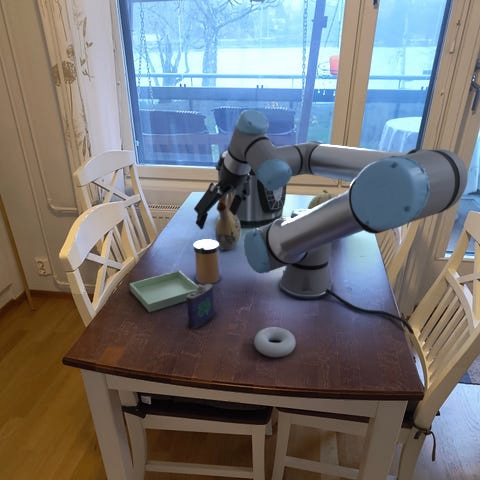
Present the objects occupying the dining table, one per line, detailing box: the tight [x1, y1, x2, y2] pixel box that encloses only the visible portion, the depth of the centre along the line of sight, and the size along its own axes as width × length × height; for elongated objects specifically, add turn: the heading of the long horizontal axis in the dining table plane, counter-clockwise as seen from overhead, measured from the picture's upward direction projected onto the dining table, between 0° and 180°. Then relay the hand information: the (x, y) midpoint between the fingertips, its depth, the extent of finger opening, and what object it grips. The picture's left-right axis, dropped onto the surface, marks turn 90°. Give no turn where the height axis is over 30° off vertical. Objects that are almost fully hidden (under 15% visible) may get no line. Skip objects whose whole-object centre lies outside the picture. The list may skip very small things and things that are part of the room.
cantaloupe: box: [307, 189, 339, 210], centre depth 163 cm, size 15×15×15 cm
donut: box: [253, 326, 296, 358], centre depth 101 cm, size 10×4×10 cm
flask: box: [186, 283, 215, 329], centre depth 109 cm, size 9×3×11 cm, turn 144°
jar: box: [192, 239, 220, 285], centre depth 129 cm, size 8×8×12 cm
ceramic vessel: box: [214, 193, 242, 251], centre depth 146 cm, size 16×9×25 cm, turn 166°
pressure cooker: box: [214, 140, 288, 227], centre depth 170 cm, size 30×28×32 cm
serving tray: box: [129, 269, 199, 313], centre depth 124 cm, size 14×16×2 cm
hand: (216, 218), depth 132 cm, fingers open, 13 cm apart
